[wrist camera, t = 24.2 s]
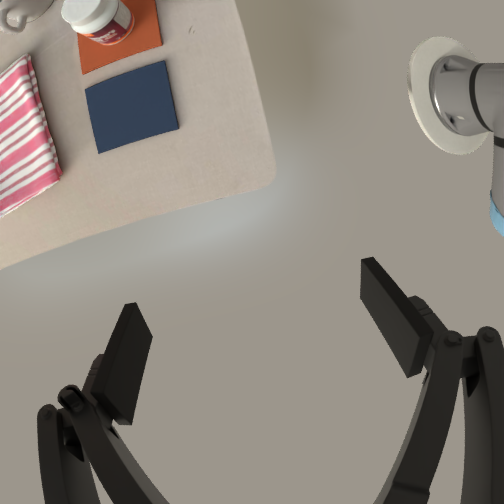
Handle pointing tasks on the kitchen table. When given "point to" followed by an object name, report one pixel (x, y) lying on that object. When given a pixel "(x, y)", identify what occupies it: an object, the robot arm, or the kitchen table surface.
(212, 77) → the kitchen table surface
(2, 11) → the mug
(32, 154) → the dish towel
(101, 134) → the slate blue mat
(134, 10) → the terracotta mat
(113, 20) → the pill bottle
